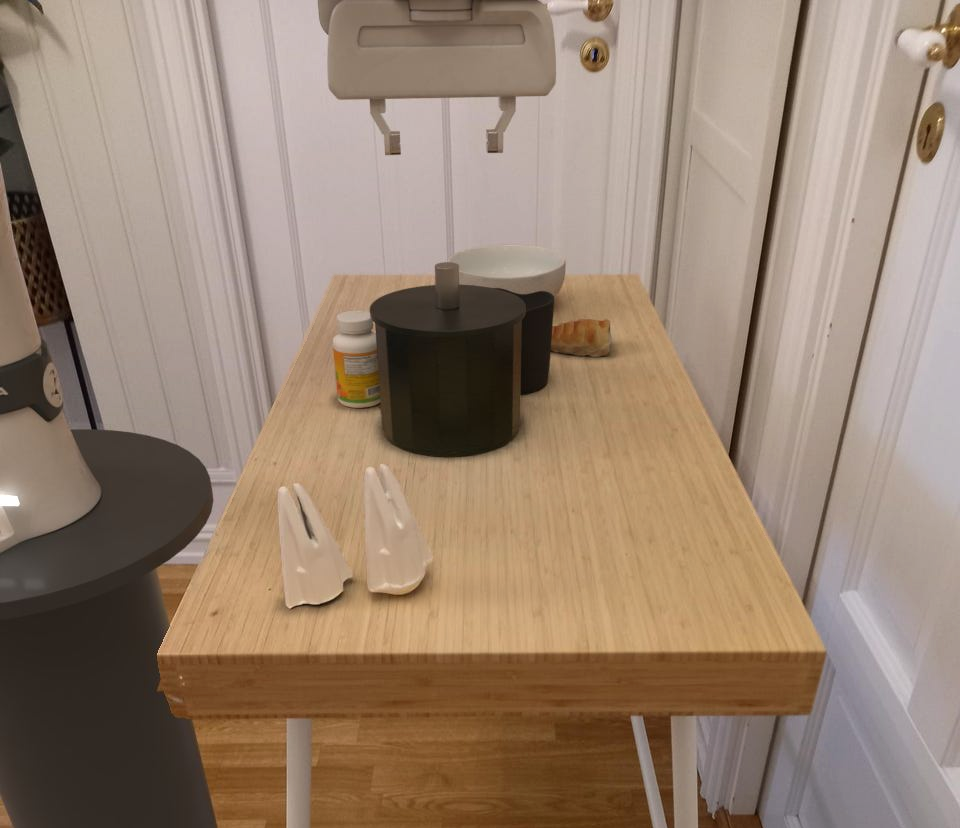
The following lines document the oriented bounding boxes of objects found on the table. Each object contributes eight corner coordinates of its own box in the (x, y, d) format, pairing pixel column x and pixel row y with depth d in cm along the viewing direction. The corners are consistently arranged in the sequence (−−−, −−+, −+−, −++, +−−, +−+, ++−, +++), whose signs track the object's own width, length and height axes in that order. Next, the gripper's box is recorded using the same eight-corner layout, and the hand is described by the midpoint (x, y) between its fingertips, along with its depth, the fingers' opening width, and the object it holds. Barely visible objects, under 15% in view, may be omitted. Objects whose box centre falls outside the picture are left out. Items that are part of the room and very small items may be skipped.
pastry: (537, 356, 124) (538, 326, 122) (540, 339, 129) (541, 310, 127) (611, 358, 123) (613, 328, 121) (611, 341, 128) (613, 312, 126)
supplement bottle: (341, 391, 114) (334, 308, 109) (387, 391, 114) (381, 308, 109) (334, 408, 110) (326, 323, 104) (381, 409, 110) (375, 323, 104)
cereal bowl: (440, 296, 146) (439, 246, 141) (548, 289, 148) (549, 240, 144) (459, 331, 132) (458, 278, 128) (577, 323, 134) (579, 271, 130)
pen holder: (520, 363, 122) (521, 281, 116) (567, 385, 115) (571, 300, 109) (458, 379, 117) (456, 295, 112) (503, 403, 111) (503, 315, 105)
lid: (368, 346, 92) (364, 290, 89) (371, 297, 104) (368, 247, 101) (534, 341, 92) (535, 285, 89) (517, 293, 105) (518, 243, 102)
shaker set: (434, 574, 81) (429, 451, 74) (436, 601, 77) (431, 475, 71) (289, 581, 80) (271, 458, 73) (285, 609, 76) (266, 482, 70)
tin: (382, 459, 99) (373, 338, 92) (383, 404, 111) (376, 293, 104) (525, 454, 100) (528, 333, 92) (511, 400, 112) (513, 289, 104)
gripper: (312, -26, 78) (329, 161, 86) (562, -29, 79) (556, 156, 88) (317, -28, 84) (333, 149, 92) (552, -30, 85) (547, 145, 93)
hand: (443, 153), depth 90 cm, fingers open, 8 cm apart
